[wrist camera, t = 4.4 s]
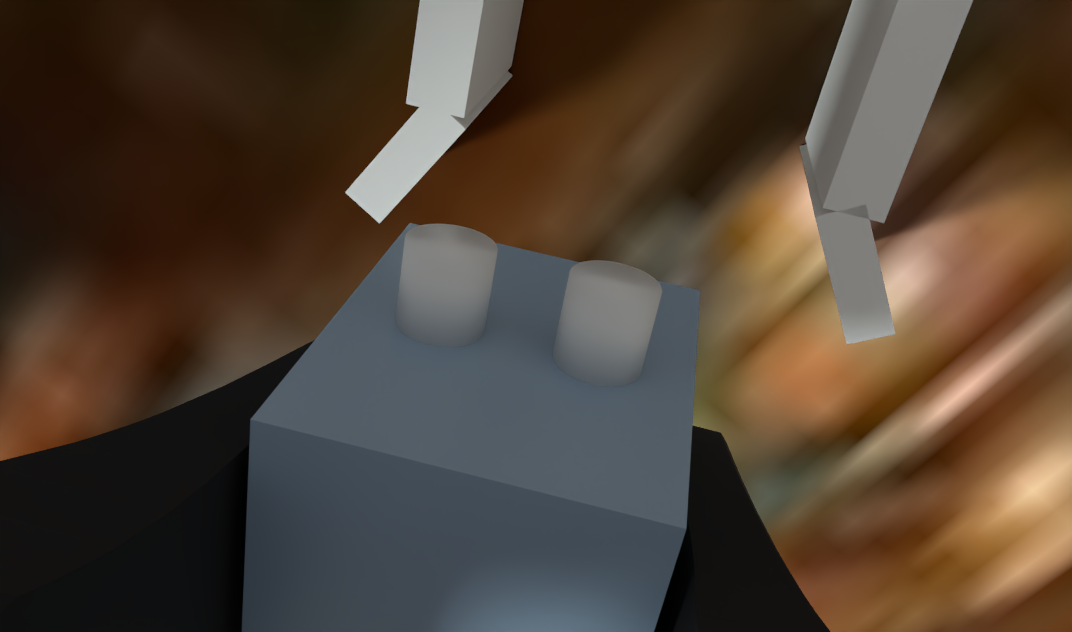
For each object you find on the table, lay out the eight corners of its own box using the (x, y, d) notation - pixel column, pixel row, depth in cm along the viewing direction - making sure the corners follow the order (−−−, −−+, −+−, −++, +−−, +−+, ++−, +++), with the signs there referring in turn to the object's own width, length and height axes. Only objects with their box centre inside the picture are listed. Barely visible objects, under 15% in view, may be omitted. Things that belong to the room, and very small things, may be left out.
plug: (381, 459, 15) (238, 719, 11) (418, 153, 13) (253, 323, 8) (635, 523, 15) (594, 818, 10) (719, 221, 12) (716, 435, 8)
